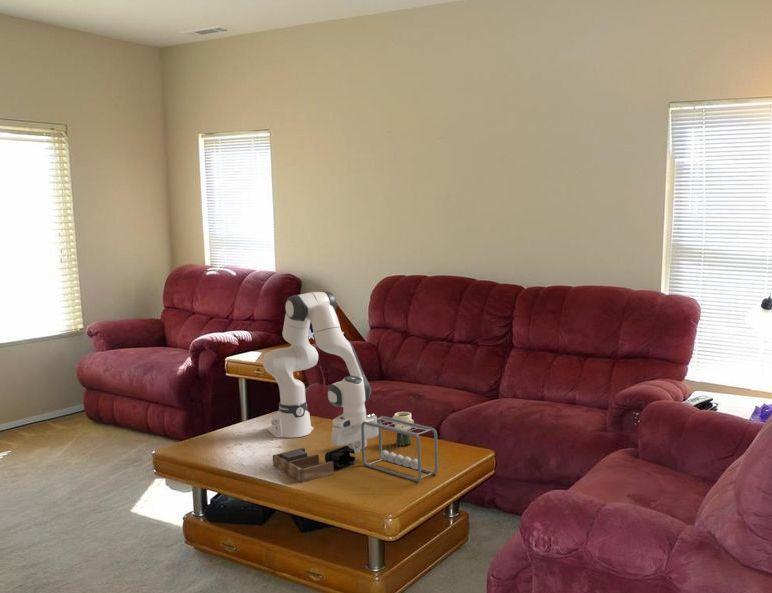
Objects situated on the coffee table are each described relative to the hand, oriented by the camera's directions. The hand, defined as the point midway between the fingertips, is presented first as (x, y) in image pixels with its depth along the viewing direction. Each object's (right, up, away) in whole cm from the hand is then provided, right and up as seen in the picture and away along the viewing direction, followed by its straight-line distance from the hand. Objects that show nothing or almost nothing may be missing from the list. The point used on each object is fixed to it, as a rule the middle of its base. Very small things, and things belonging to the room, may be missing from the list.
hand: (356, 452), depth 294 cm
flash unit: (-24, -5, -3) cm, 24 cm away
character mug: (+19, -1, +19) cm, 27 cm away
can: (0, -2, +17) cm, 17 cm away
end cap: (-6, -5, -4) cm, 8 cm away
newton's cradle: (+17, -5, -11) cm, 21 cm away
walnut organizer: (-20, -5, -7) cm, 21 cm away
